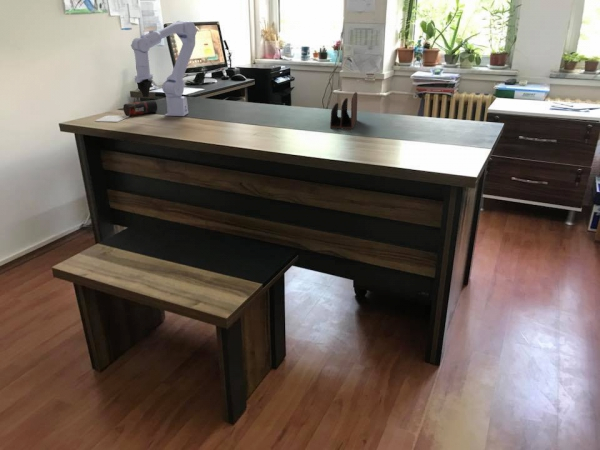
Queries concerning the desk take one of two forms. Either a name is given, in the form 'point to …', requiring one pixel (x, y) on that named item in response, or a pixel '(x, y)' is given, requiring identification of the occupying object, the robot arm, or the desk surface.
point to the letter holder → (344, 114)
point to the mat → (111, 118)
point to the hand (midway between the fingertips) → (145, 96)
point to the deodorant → (140, 108)
